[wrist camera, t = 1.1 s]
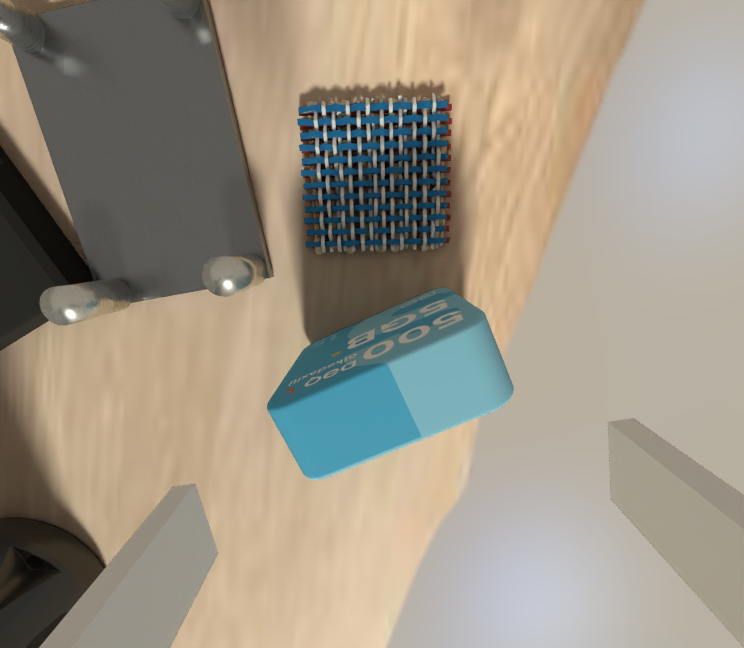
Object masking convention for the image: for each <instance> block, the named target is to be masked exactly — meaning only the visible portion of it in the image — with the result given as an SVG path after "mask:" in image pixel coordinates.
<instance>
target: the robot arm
mask: <svg viewBox="0 0 744 648" xmlns="http://www.w3.org/2000/svg"><path fill="white" fill-rule="evenodd" d="M608 436H609V462H610V463H609V464H610V492H611V500H612V501H613V502H614V504H615V505H616V506H617V507H618V508H619V509H620V510H621V511H622V513H623V514H624V515H625V516H626V517H627V518H628V519H629V520H630V521H631V523H632V524H633V525H634V526H635V527H636V528H637V529H638V530H639V531H640V533H641V534H642V535H643V536H644V537H645V538H646V539H647V540H648V541H649V543H650V544H651V545H652V546H653V547H654V548H655V549H656V550H657V551H658V553H659V554H660V555H661V556H662V557H663V558H664V559H665V560H666V562H667V563H668V564H669V565H670V566H671V567H672V568H673V569H674V570H675V572H676V573H677V574H678V575H679V576H680V577H681V578H682V579H683V580H684V582H685V583H686V584H687V585H688V586H689V587H690V588H691V589H692V590H693V591H694V592H695V594H696V595H697V596H698V597H699V598H700V599H701V601H702V602H703V603H704V604H705V605H706V606H707V607H708V608H709V609H710V611H711V612H713V614H714V615H715V616H716V617H717V618H718V619H719V621H721V623H722V624H723V625H724V626H725V627H726V628H727V630H729V632H730V633H731V634H732V635H733V636H734V637H735V638H736V639H737V641H738V642H739V643H740V644H741V645H742V646H743V647H744V495H743V494H742V493H740V492H739V491H737V490H736V489H734V488H733V487H731V486H730V485H729V484H727V483H726V482H724V481H723V480H722V479H720V478H719V477H717V476H716V475H714V474H713V473H711V472H710V471H709V470H707V469H706V468H704V467H703V466H701V465H700V464H699V463H697V462H696V461H694V460H693V459H691V458H690V457H688V456H687V455H686V454H684V453H683V452H681V451H680V450H679V449H677V448H676V447H674V446H673V445H671V444H670V443H668V442H667V441H666V440H664V439H663V438H661V437H660V436H658V435H657V434H656V433H654V432H653V431H651V430H650V429H648V428H647V427H645V426H644V425H643V424H641V423H640V422H638V421H637V420H635V419H634V418H632V419H626V420H619V421H612V422H608ZM217 554H218V552H217V548H216V545H215V542H214V539H213V536H212V533H211V530H210V527H209V524H208V521H207V518H206V515H205V512H204V509H203V505H202V502H201V499H200V496H199V493H198V490H197V487H196V484H189V485H182V486H175V487H172V488H171V490H170V491H169V492H168V493H167V494H166V496H165V497H164V498H163V499H162V500H161V502H160V503H159V504H158V505H157V507H156V508H155V509H154V510H153V511H152V513H151V514H150V515H149V516H148V517H147V519H146V520H145V521H144V522H143V523H142V525H141V526H140V527H139V528H138V529H137V531H136V532H135V533H134V534H133V535H132V537H131V538H130V539H129V540H128V541H127V543H126V544H125V545H124V546H123V547H122V549H121V550H120V551H119V552H118V553H117V555H116V556H115V557H114V558H113V559H112V561H111V562H110V563H109V564H108V565H107V567H106V568H105V569H104V568H103V567H102V565H101V563H100V562H99V561H98V559H97V558H96V557H95V555H94V554H93V553H92V552H91V551H90V550H89V549H88V548H87V547H86V546H85V545H84V544H82V543H81V542H80V541H79V540H77V539H76V538H74V537H73V536H71V535H70V534H68V533H66V532H64V531H62V530H60V529H58V528H56V527H54V526H51V525H48V524H45V523H42V522H38V521H34V520H28V519H18V518H9V519H0V648H170V646H171V645H172V643H173V641H174V639H175V637H176V635H177V633H178V631H179V629H180V627H181V625H182V623H183V621H184V619H185V617H186V615H187V613H188V611H189V609H190V607H191V605H192V603H193V601H194V599H195V598H196V596H197V594H198V592H199V590H200V588H201V586H202V584H203V582H204V580H205V578H206V576H207V574H208V572H209V570H210V568H211V566H212V564H213V562H214V560H215V558H216V556H217Z"/></svg>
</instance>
